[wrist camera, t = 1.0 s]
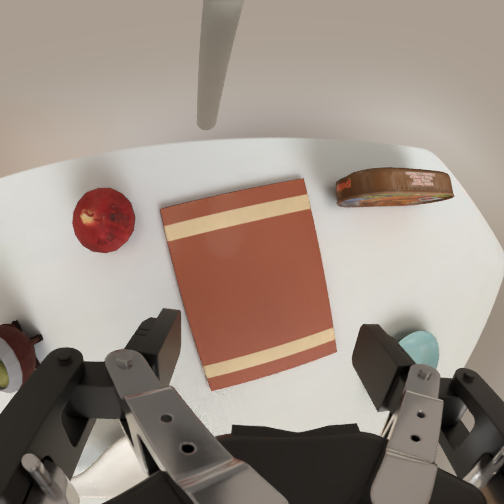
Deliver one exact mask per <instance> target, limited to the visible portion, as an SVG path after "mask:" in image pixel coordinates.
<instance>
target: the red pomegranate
mask: <svg viewBox="0 0 504 504" xmlns="http://www.w3.org/2000/svg"><path fill="white" fill-rule="evenodd" d="M72 224H73V228H74V232H75V235H76V237H77V238H78V240H79V241H80V243H81V244H82V245H83V246H84V247H86V248H87V249H89V250H91V251H93V252H101V253H108V252H112V251H115V250H117V249H118V248H120V247H121V246H122V245H123V244H125V243H126V242H127V241H128V239H129V238H130V236H131V234H132V232H133V231H134V224H135V214H134V211H133V208H132V205H131V202H130V201H129V200H128V199H127V198H126V197H125V196H124V195H123V194H122V193H120V192H118V191H116V190H114V189H112V188H97V189H94V190H91V191H89V192H87V193H86V194H85V195H84V196H83V197H82V198H81V199H80V200H79V201H78V203H77V205H76V208H75V210H74V213H73V223H72Z"/></svg>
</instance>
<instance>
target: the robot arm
mask: <svg viewBox="0 0 504 504" xmlns="http://www.w3.org/2000/svg"><path fill="white" fill-rule="evenodd" d="M180 348H181V311H180V310H174V309H167V308H163V309H162V311H161V312H160V314H159V316H158V317H157V318H152V317H150V318H148V319H147V320H145V321H143V322H142V323H141V324H140V326H139V327H138V330H136V332H135V333H134V335H133V336H132V338H131V339H130V341H129V342H128V344H127V345H126V347H125V348H124V349H121V350H116V351H113V352H111V353H110V354H108V355H107V356H106V358H105V361H104V362H87V361H84V360H83V356H82V354H81V352H80V351H78V350H76V349H74V348H67V347H66V348H59V349H56V350H53V351H52V352H50V353H49V354H48V355H47V357H46V358H45V359H44V360H43V361H42V362H41V364H40V365H39V366H38V367H37V368H36V370H35V371H34V372H33V373H32V374H31V376H30V377H29V378H28V379H27V380H26V382H25V383H24V384H23V385H22V387H21V388H20V389H19V390H18V392H17V393H16V394H15V395H14V397H13V398H12V399H11V401H10V402H9V403H8V405H7V406H6V407H5V408H4V410H3V411H2V412H1V414H0V504H79V502H80V500H79V495H78V492H77V491H76V489H75V488H74V486H73V485H72V483H71V482H70V481H71V479H72V476H73V473H74V471H75V468H76V466H77V463H78V461H79V459H80V456H81V454H82V451H83V449H84V447H85V444H86V442H87V439H88V437H89V435H90V433H91V430H92V428H93V426H94V424H95V421H96V419H97V418H102V419H118V422H119V424H120V426H121V428H122V430H123V432H124V434H125V436H126V438H127V440H128V442H129V444H130V446H131V448H132V450H133V451H134V453H135V455H136V457H137V460H138V462H139V464H140V467H141V469H142V471H143V473H144V475H145V476H146V479H145V480H143V481H141V482H140V483H138V484H136V485H135V486H133V487H131V488H130V489H128V490H126V491H124V492H123V493H121V494H119V495H117V496H115V497H114V498H112V499H110V500H108V501H106V502H104V503H102V504H504V402H503V401H502V400H501V398H500V397H499V396H498V395H497V394H496V393H495V392H494V391H493V390H492V389H491V387H489V385H488V384H487V383H486V382H485V381H484V380H483V379H482V378H481V377H480V376H479V375H478V374H477V373H476V372H474V371H472V370H470V369H466V368H459V369H457V370H456V372H455V374H454V376H453V378H452V379H451V378H440V374H439V372H438V371H437V370H436V369H435V368H433V367H431V366H429V365H426V364H416V362H415V361H414V360H413V359H412V358H411V357H410V355H409V354H408V353H407V352H405V350H404V349H403V347H401V345H400V344H399V343H398V342H397V341H396V339H394V338H392V337H391V336H389V335H388V334H387V333H386V332H385V331H384V330H383V329H382V328H381V326H380V325H378V324H363V325H362V326H361V328H360V330H359V334H358V337H357V341H356V344H355V348H354V351H353V355H352V364H353V367H354V369H355V370H356V372H357V374H358V376H359V378H360V380H361V381H362V383H363V385H364V387H365V389H366V391H367V392H368V394H369V396H370V398H371V400H372V402H373V404H374V406H375V407H376V409H377V411H378V412H382V411H390V413H389V415H388V417H387V419H386V421H385V424H384V426H383V429H382V431H381V434H380V436H378V435H375V434H371V433H367V432H360V430H359V428H358V425H357V423H355V424H344V425H330V426H325V427H321V428H317V429H313V430H309V431H305V432H299V433H298V432H291V431H285V430H280V429H275V428H270V427H265V426H244V425H232V431H231V434H224V435H219V436H215V437H214V436H213V435H212V434H211V432H210V431H209V430H208V429H207V428H206V427H205V426H204V424H203V423H202V422H201V421H200V420H199V418H198V417H197V416H196V415H195V414H194V412H193V411H192V410H191V409H190V408H189V406H188V405H187V404H186V403H185V401H184V400H183V399H182V397H181V396H180V395H179V394H178V392H177V391H176V390H175V388H174V387H172V386H169V383H170V380H171V377H172V375H173V372H174V369H175V366H176V363H177V360H178V357H179V354H180ZM467 408H468V409H469V411H470V412H471V414H472V415H473V416H474V419H475V424H474V427H473V429H472V431H471V432H470V433H469V431H468V430H467V428H466V427H465V425H464V424H463V422H462V421H461V420H460V419H461V418H462V416H463V414H464V413H465V411H466V410H467ZM438 442H439V444H440V445H441V447H442V449H443V451H444V453H445V454H446V456H447V458H448V460H449V462H450V463H451V466H452V467H453V469H454V471H455V473H456V475H457V477H456V476H454V475H452V474H450V473H448V472H446V471H444V470H442V469H440V468H438V467H437V464H435V457H436V452H437V446H438Z"/></svg>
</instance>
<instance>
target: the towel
mask: <svg viewBox="0 0 504 504" xmlns="http://www.w3.org/2000/svg"><path fill="white" fill-rule="evenodd" d="M160 211H161V216H162V220H163V225H164V229H165V234H166V238H167V242H168V246H169V250H170V255H171V259H172V263H173V266H174V270H175V274H176V278H177V282H178V285H179V289H180V293H181V296H182V300H183V303H184V307H185V310H186V314H187V317H188V321H189V324H190V327H191V331H192V334H193V337H194V340H195V343H196V347H197V350H198V353H199V356H200V359H201V362H202V365H203V368H204V371H205V374H206V377H207V380H208V383H209V385H210V388H211V391H214V390H218V389H222V388H226V387H230V386H233V385H237V384H241V383H245V382H248V381H252V380H255V379H259V378H262V377H265V376H269V375H272V374H275V373H278V372H281V371H285V370H288V369H291V368H294V367H297V366H300V365H303V364H305V363H308V362H311V361H314V360H317V359H319V358H322V357H325V356H327V355H330V354H333V353H335V352H337V349H336V342H335V335H334V328H333V322H332V316H331V310H330V304H329V298H328V292H327V286H326V281H325V275H324V270H323V265H322V259H321V254H320V249H319V244H318V240H317V235H316V230H315V225H314V221H313V216H312V212H311V207H310V203H309V199H308V194H307V190H306V186H305V182H304V178H302V179H297V180H291V181H286V182H280V183H275V184H270V185H265V186H259V187H254V188H250V189H245V190H240V191H235V192H230V193H226V194H221V195H217V196H212V197H208V198H204V199H199V200H195V201H191V202H187V203H182V204H178V205H174V206H170V207H166V208H162V209H160Z"/></svg>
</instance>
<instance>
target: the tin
mask: <svg viewBox="0 0 504 504" xmlns="http://www.w3.org/2000/svg"><path fill="white" fill-rule="evenodd" d="M336 193H337V200H338V202H337V205H338V206H341V207H373V206H406V205H418V204H426V203H432V202H438V201H443V200H447V199H451V198H453V197H454V194H453V191H452V185H451V180H450V177H449V175H448V174H447V173H444V172H440V171H431V170H421V169H409V168H392V167H387V168H373V169H366V170H361V171H357V172H354V173H351V174H349V175H348V176H346V177H344V178H342V179H340V180H339V181H337V182H336Z"/></svg>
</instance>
